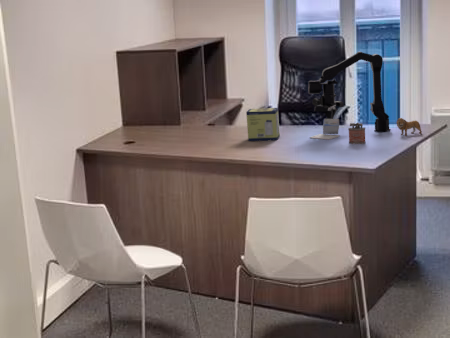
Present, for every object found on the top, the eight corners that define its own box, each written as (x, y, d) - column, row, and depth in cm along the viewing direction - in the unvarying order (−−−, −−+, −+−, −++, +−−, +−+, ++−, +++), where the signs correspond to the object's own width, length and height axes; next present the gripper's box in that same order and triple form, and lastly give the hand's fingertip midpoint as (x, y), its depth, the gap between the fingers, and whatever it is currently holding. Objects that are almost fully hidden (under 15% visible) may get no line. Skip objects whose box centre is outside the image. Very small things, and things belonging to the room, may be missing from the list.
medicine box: (338, 127, 374) (339, 118, 367) (338, 134, 372) (339, 125, 365) (322, 127, 375) (323, 118, 368) (322, 134, 373) (323, 125, 366)
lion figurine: (400, 137, 354) (400, 119, 352) (394, 135, 358) (393, 118, 356) (424, 133, 359) (424, 115, 357) (418, 131, 364) (417, 114, 362)
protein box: (251, 137, 382) (249, 108, 379) (280, 136, 379) (278, 107, 375) (247, 141, 372) (245, 111, 369) (277, 140, 369) (275, 110, 366)
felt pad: (339, 136, 367) (339, 135, 367) (329, 139, 360) (329, 138, 360) (320, 134, 375) (320, 133, 375) (309, 138, 368) (309, 137, 368)
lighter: (366, 142, 347) (365, 122, 344) (365, 144, 343) (364, 123, 341) (349, 142, 349) (348, 122, 347) (348, 144, 346) (347, 123, 344)
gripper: (325, 90, 382) (327, 119, 386) (305, 95, 369) (306, 124, 372) (343, 90, 375) (344, 120, 378) (323, 95, 362) (324, 126, 365)
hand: (329, 122), depth 374 cm, fingers closed
